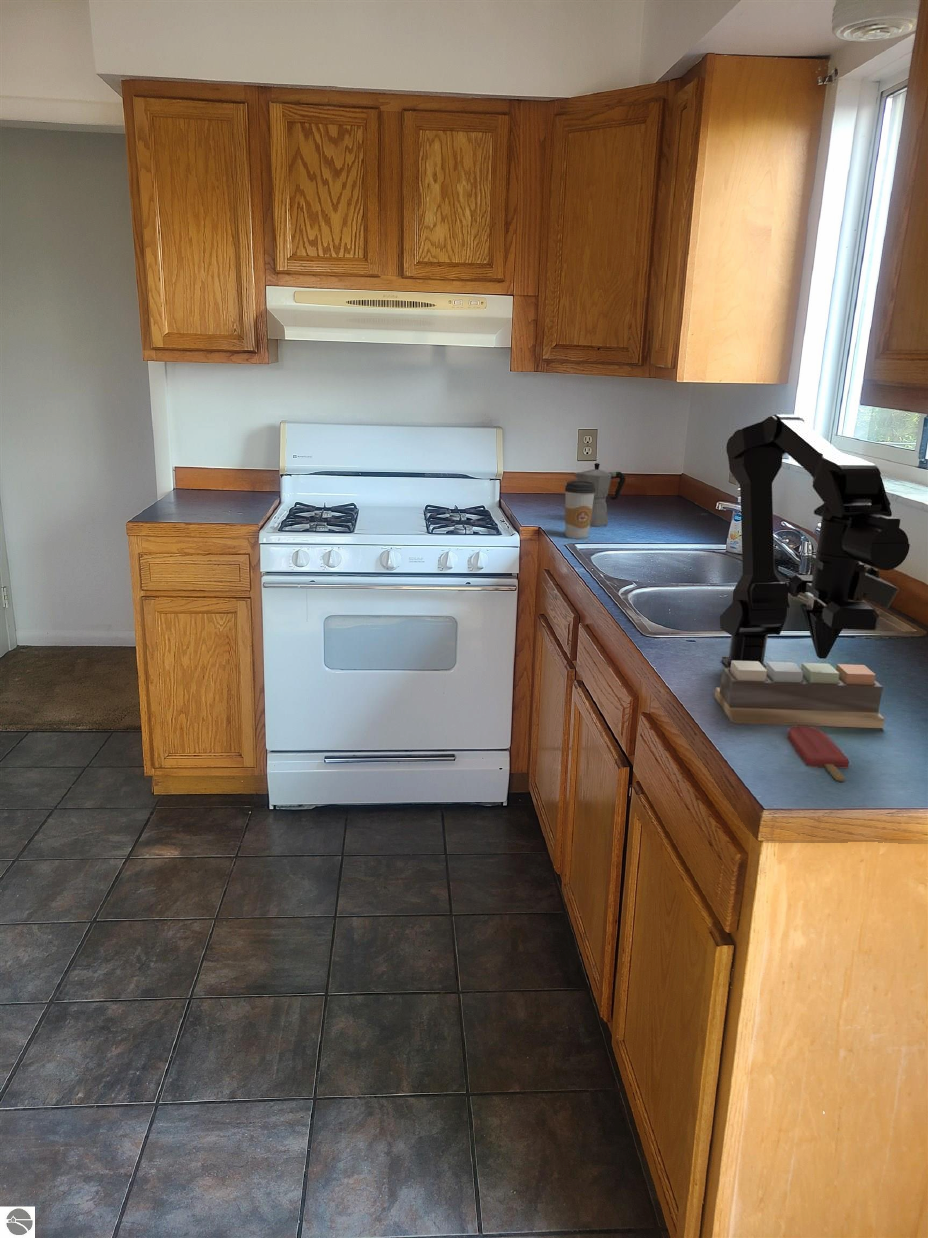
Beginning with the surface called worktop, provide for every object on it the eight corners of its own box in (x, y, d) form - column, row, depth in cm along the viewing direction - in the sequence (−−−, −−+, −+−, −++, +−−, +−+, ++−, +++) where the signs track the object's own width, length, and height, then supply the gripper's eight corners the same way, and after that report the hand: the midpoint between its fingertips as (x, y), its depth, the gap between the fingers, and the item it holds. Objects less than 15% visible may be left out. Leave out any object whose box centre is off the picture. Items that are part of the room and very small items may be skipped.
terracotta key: (833, 683, 134) (837, 664, 133) (860, 684, 134) (864, 665, 133) (844, 693, 130) (847, 673, 129) (872, 694, 130) (875, 674, 129)
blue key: (764, 680, 134) (766, 661, 133) (790, 681, 134) (793, 662, 133) (772, 690, 130) (775, 671, 129) (800, 691, 130) (803, 672, 129)
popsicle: (820, 773, 111) (782, 724, 126) (818, 785, 112) (780, 734, 126) (863, 775, 111) (820, 725, 126) (861, 786, 112) (818, 736, 126)
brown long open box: (714, 696, 138) (718, 662, 136) (854, 701, 138) (860, 667, 136) (732, 723, 128) (737, 687, 127) (882, 728, 128) (889, 692, 127)
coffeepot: (573, 526, 264) (578, 464, 258) (567, 520, 273) (571, 460, 267) (625, 527, 265) (630, 465, 260) (617, 521, 274) (622, 461, 269)
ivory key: (729, 679, 134) (731, 660, 133) (755, 680, 134) (758, 661, 133) (736, 689, 130) (739, 669, 129) (764, 690, 130) (766, 670, 129)
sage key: (798, 681, 134) (801, 662, 133) (825, 682, 134) (828, 663, 133) (808, 691, 130) (811, 672, 129) (836, 692, 130) (839, 673, 129)
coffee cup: (567, 540, 245) (571, 485, 241) (557, 533, 253) (560, 480, 248) (596, 539, 247) (600, 484, 242) (585, 533, 255) (589, 480, 250)
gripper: (928, 571, 117) (906, 683, 122) (868, 540, 135) (851, 639, 140) (842, 568, 117) (824, 680, 122) (793, 538, 135) (779, 636, 140)
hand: (821, 657), depth 131 cm, fingers closed
